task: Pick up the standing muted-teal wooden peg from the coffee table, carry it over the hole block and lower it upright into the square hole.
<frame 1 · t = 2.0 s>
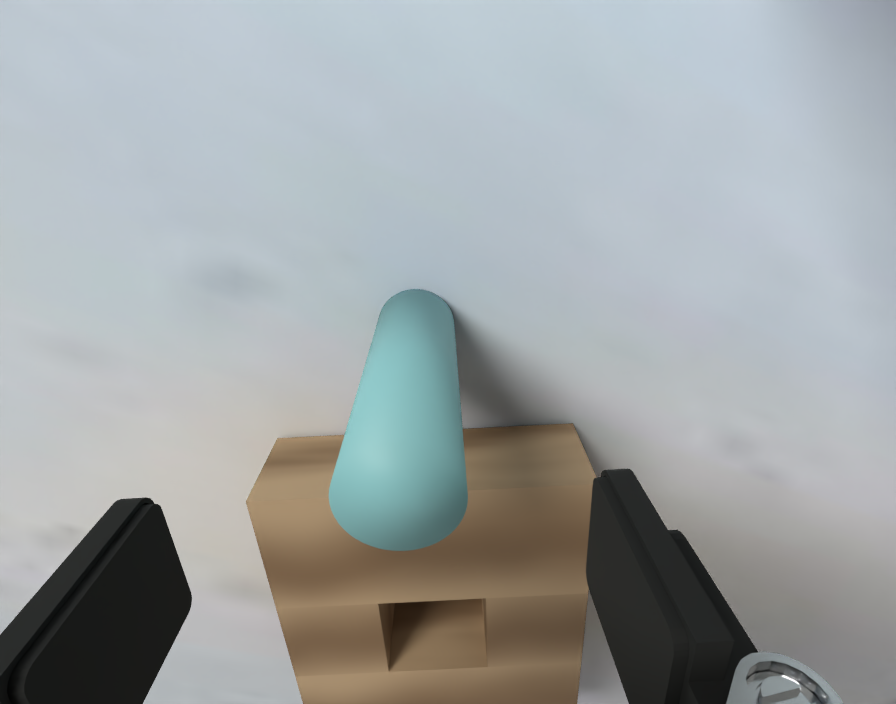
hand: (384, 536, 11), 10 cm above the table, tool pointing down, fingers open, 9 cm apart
peg: (416, 325, 20), on the table
hole block: (435, 562, 25), on the table
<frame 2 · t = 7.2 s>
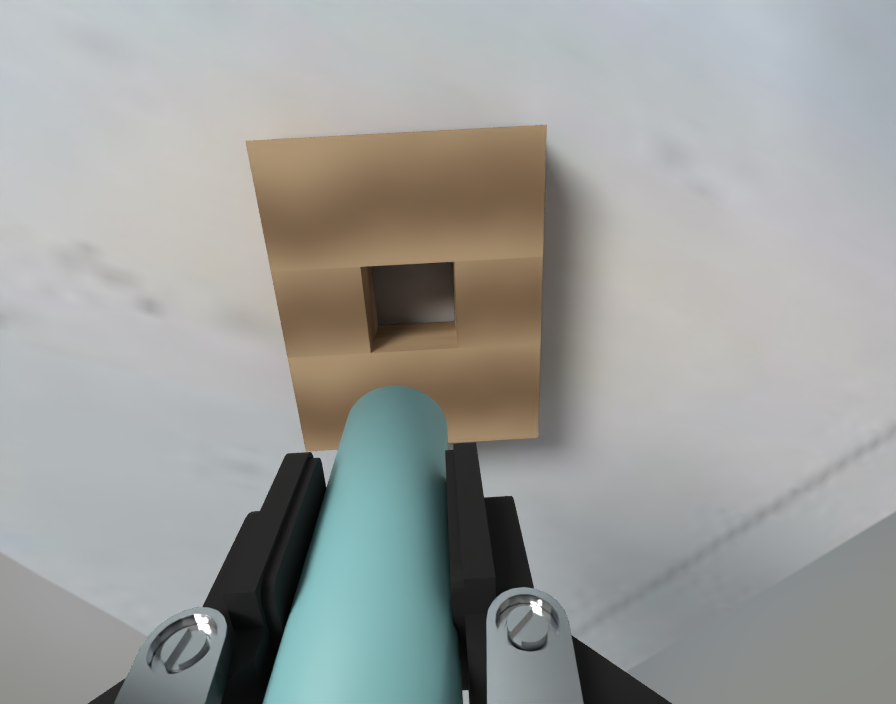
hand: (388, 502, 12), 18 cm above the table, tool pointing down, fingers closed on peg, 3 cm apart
peg: (396, 430, 15), point 15 cm above the table, touching gripper
hole block: (413, 286, 28), on the table
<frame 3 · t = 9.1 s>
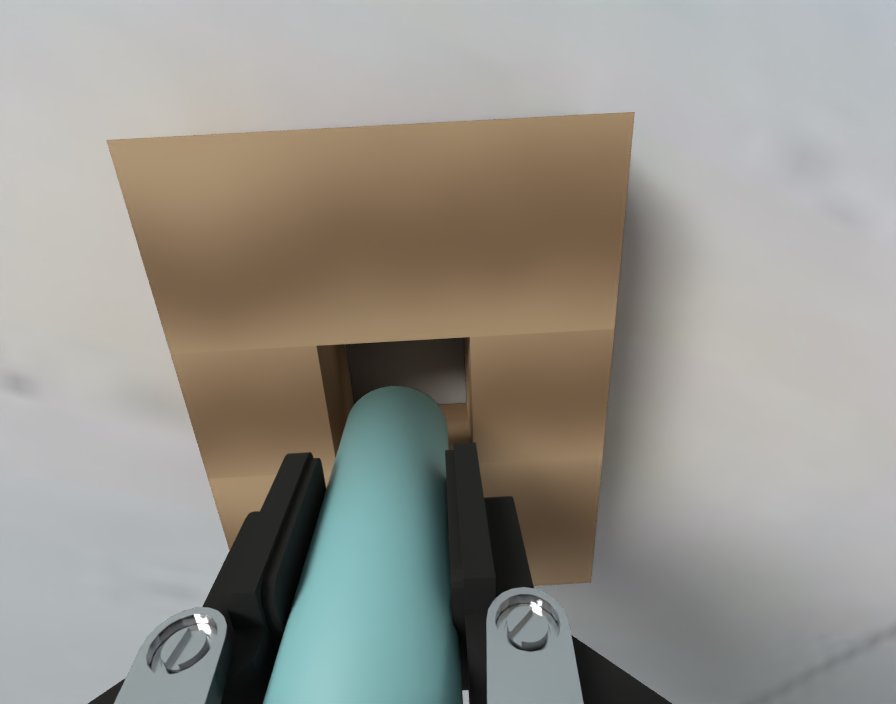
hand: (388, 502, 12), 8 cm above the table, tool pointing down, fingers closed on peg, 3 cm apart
peg: (396, 430, 15), point 5 cm above the table, touching gripper
hole block: (406, 355, 19), on the table
when the fingers open (5 cm above the table, at t = 10.6 s): peg drops 2 cm, resting in hole block.
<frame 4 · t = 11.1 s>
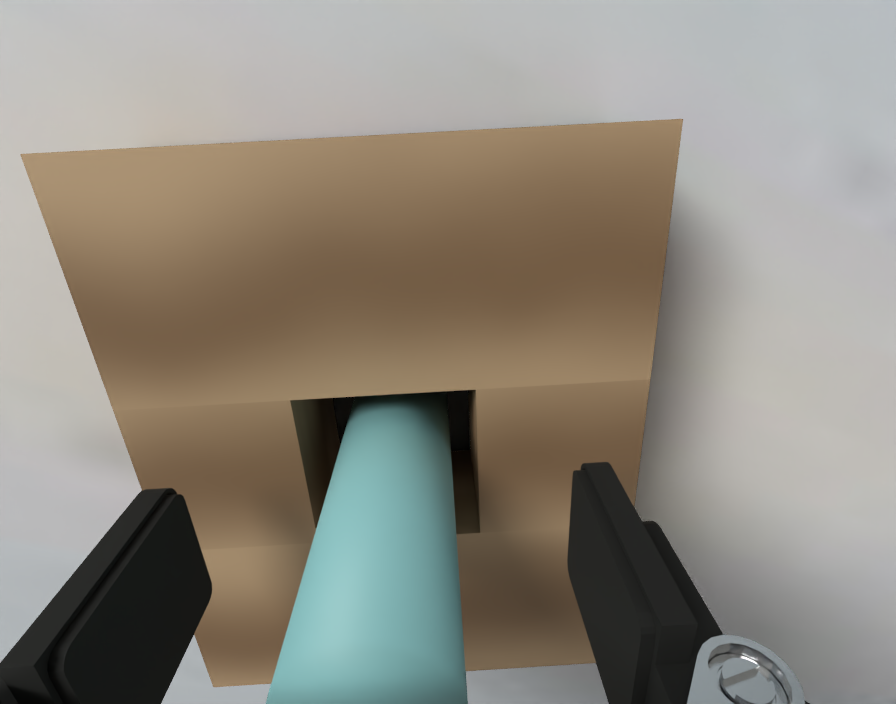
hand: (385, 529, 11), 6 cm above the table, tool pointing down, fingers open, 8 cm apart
peg: (402, 396, 17), resting in hole block
hole block: (400, 397, 17), on the table
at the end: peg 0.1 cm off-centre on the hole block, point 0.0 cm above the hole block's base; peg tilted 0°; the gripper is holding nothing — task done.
